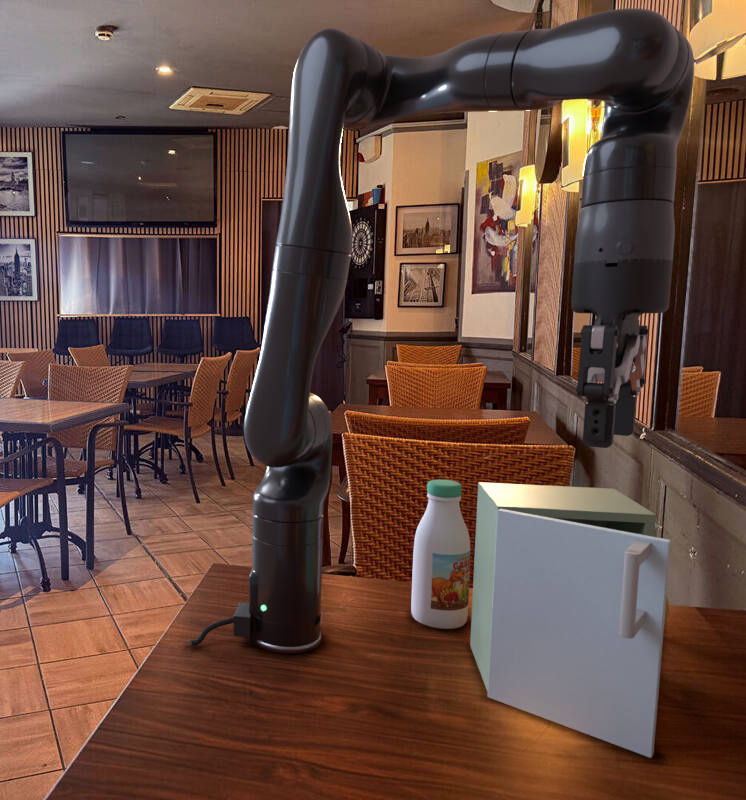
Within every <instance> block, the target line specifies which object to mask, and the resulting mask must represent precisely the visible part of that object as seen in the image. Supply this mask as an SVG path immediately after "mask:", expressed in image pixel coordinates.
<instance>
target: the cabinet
mask: <svg viewBox="0 0 746 800" xmlns="http://www.w3.org/2000/svg"><path fill="white" fill-rule="evenodd" d="M499 509H506V510H511V511H516V512H522V513H527V514H533V515H538V516H543V517H549V518H554V519H560V520H565V521H570V522H576V523H581V524H587V525H592V526H598V527H603V528H608V529H614V530H619V531H625V532H630V533H635V534H641V535H646V536H652V537H656V536H655V535H656V521H657V514H656V513H654V512H653V511H651V510H649V509H648V508H646V507H644V506H643V505H641V504H640V503H638V502H636V501H635V500H633V499H632V498H630V497H628V496H627V495H626V494H624V493H622V492H620V491H619V490H617V489H616V488H607V487H606V488H605V487H584V486H566V485H564V486H562V485H547V484H546V485H545V484H543V485H541V484H522V483H505V482H503V483H502V482H501V483H500V482H483V481H482V482H477V501H476V519H475V537H474V538H475V542H474V561H473V579H472V581H473V582H472V602H471V620H470V621H471V623H470V641H469V646H470V649H471V652H472V654H473V657H474V659H475V660H474V661H475V662H476V665H477V668H478V670H479V674H480V676H481V679H482V681H483V684H484V687H485V689H486V692H487V693H488V680H489V661H490V642H491V623H492V604H493V585H494V567H495V548H496V529H497V511H498V510H499Z"/></svg>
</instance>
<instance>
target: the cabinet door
mask: <svg viewBox="0 0 746 800" xmlns="http://www.w3.org/2000/svg"><path fill="white" fill-rule="evenodd" d="M671 545H672V540H671V539H667V538H663V537H657V536H654V537H652V536H646V535H641V534H635V533H630V532H625V531H619V530H614V529H608V528H603V527H598V526H592V525H587V524H581V523H576V522H570V521H565V520H560V519H554V518H549V517H543V516H538V515H533V514H527V513H522V512H516V511H511V510H506V509H499V510H498V511H497V529H496V548H495V567H494V585H493V604H492V623H491V642H490V661H489V680H488V692H487V698H489V699H490V700H494V701H497V702H499V703H502V704H505V705H507V706H510V707H513V708H515V709H518V710H520V711H523V712H526V713H528V714H531V715H534V716H536V717H540V718H541V719H545V720H547V721H550V722H553V723H556V724H558V725H560V726H564V727H567V728H569V729H572V730H574V731H577V732H579V733H583V734H585V735H588V736H590V737H593V738H595V739H599V740H601V741H604V742H607V743H609V744H612V745H615V746H618V747H620V748H623V749H625V750H628V751H630V752H633V753H635V754H638V755H641V756H643V757H646V758H648V759H649V758H650V759H652V758H653V756H654V752H655V740H656V729H657V719H658V718H657V715H658V704H659V693H660V692H659V691H660V680H661V668H662V667H661V666H662V655H663V645H664V644H663V643H664V630H665V623H664V620H665V608H666V595H667V594H668V583H669V581H668V580H669V570H670V559H671V558H670V557H671V547H672V546H671ZM667 596H668V595H667Z"/></svg>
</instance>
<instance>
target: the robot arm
mask: <svg viewBox="0 0 746 800" xmlns="http://www.w3.org/2000/svg"><path fill="white" fill-rule="evenodd" d="M690 43H691V42H690V41H689V40H688V38H687V37H686V36H685V35H684V34H683V33H682V32H681V31H679V30H678V28H676V27H675V26H674V25H673V24H672V23H671V22H670V20H668V19H667V18H666V17H665V16H664V15H662V14H661V13H659V12H657V11H654V10H651V9H646V8H636V7H635V8H634V7H632V8H631V7H630V8H618V9H610V10H605V11H601V12H597V13H593V14H590V15H587V16H584V17H580V18H577V19H573V20H570V21H567V22H564V23H562V24H558V25H557V26H554V27H551V28H535V29H525V30H516V31H508V32H499V33H492V34H486V35H482V36H477V37H475V38H471V39H469V40H465V41H462V42H461V43H459V44H457V45H455V46H452V47H451V48H449V49H447V50H445V51H443V52H440V53H435V54H432V55H426V56H403V55H402V56H401V55H394V54H387V53H383V52H382V51H380V50H379V49H378V48H377V47H374V46H373V45H371V44H369V43H367V42H366V41H363V40H361V38H358V37H356V36H353V35H352V34H349V33H348V32H345V31H343V30H341V29H337V28H332V27H328V28H323V29H321V30H318V31H317V32H315V33H314V34H313V35H312V36H310V38H309V39H308V40H307V41H306V43H305V44H304V46H303V47H302V49H301V51H300V53H299V55H298V57H297V60H296V64H295V66H294V71H293V75H292V81H291V89H290V103H289V124H288V143H287V145H288V146H287V161H286V170H285V177H284V185H283V186H284V187H283V194H282V195H283V196H282V203H281V211H280V219H279V226H278V231H277V236H276V241H275V247H274V254H273V261H272V268H271V276H270V277H271V278H270V287H269V294H268V299H267V300H268V302H267V306H266V313H265V320H264V325H263V334H262V335H263V336H262V341H261V347H260V353H259V358H258V361H257V362H258V363H257V366H256V369H255V375H254V378H253V382H252V386H251V390H250V393H249V397H248V402H247V405H246V409H245V415H244V421H243V437H244V442H245V445H246V448H247V450H248V452H249V453H250V455H251V456H252V458H253V459H254V461H256V462H257V463H259V464H260V465H262V466H264V467H266V470H265V473H264V476H263V478H262V479H261V482H260V483H259V485H258V486H257V487H256V489H255V490H254V492H253V496H252V543H251V544H252V545H251V546H252V547H251V548H252V549H251V552H252V553H251V570H250V573H249V576H248V577H249V578H248V602H238V604H237V607H236V609H235V612H234V614H233V616H231V617H227V618H224V619H220V620H217V621H215V622H213V623H211V624H209V625H207V626H206V627H204V629H203V630H202V631H201V632H200V634H199V635H198V637H197V638H195V639H190V646H191V647H196V646H198V645H201V643H202V642H203V641H204V639H205V638H206V636H207V635H208V634H209V633H211V631H213V630H215V629H217V628H220V627H223V626H226V625H230V624H233V628H232V629H233V636H234V637H243V638H248V640H247V641H248V645H249V646H256V647H258V648H261V649H262V650H265V651H267V652H271V653H276V654H282V655H283V654H284V655H296V654H304V653H307V652H310V651H312V650H313V651H314V650H315V649H316V648H318V647H319V646H320V645H321V642H322V631H321V630H322V620H323V613H324V612H323V611H324V609H323V608H322V589H323V588H322V585H323V584H322V583H323V582H322V581H323V579H322V578H323V542H324V541H323V540H324V539H323V538H324V507H325V501H326V498H327V496H328V492H329V489H330V482H331V472H332V471H331V469H332V456H333V454H332V453H333V423H332V417H331V414H330V411H329V408H328V407H327V405H326V404H325V402H324V401H323V400H322V399H321V398H320V397H319V396H318V395H316V394H314V393H312V392H311V387H312V380H313V374H314V369H315V368H314V367H315V364H316V360H317V357H318V354H319V352H320V349H321V347H322V345H323V342H324V341H325V339H326V337H327V334H328V332H329V330H330V328H331V327H332V324H333V322H334V319H335V317H336V315H337V313H338V311H339V308H340V306H341V304H342V301H343V298H344V295H345V290H346V286H347V282H348V276H349V269H350V265H351V264H350V263H351V258H352V251H353V241H354V240H353V239H354V237H353V227H352V220H351V215H350V212H349V211H350V210H349V206H348V202H347V199H346V194H345V190H344V185H343V180H342V175H341V174H342V173H341V166H340V164H341V163H340V162H341V161H340V158H341V157H340V156H341V146H342V145H341V143H342V139H343V138H342V137H343V131H344V129H343V128H345V129H357V128H363V127H364V128H365V127H370V126H375V125H378V124H379V125H380V124H384V123H387V122H393V121H396V120H401V119H405V118H413V117H419V116H428V115H433V114H435V115H436V114H447V113H449V114H450V113H482V112H483V113H487V112H488V113H490V112H491V113H493V112H496V113H497V112H533V111H541V110H545V109H546V110H547V109H550V108H552V107H555V106H557V104H559V103H560V102H561V101H571V100H593V101H594V100H595V101H602V102H603V103H604V113H603V114H604V115H603V121H602V127H601V132H600V137H599V140H597V141H596V142H594V143H593V144H592V145H591V146H590V147H589V149H588V150H587V152H586V155H585V158H584V161H583V162H584V163H583V170H582V183H581V201H580V212H579V219H578V224H577V227H576V233H575V243H574V257H573V258H574V261H573V275H572V290H571V292H572V293H571V305H570V308H571V311H572V312H574V313H576V314H589V315H591V314H592V315H593V314H594V315H595V319H594V324H590V325H589V324H584V325H583V326H582V328H581V330H580V336H581V337H580V347H579V348H580V349H579V361H578V372H577V373H578V374H577V383H576V384H577V385H576V387H575V392H576V395H577V397H581V399H582V400H581V401H582V402H583V403H584V415H583V430H582V443H583V444H584V446H587V447H591V448H592V447H593V448H599V449H600V448H601V449H608V448H610V447H612V446H613V444H614V439H615V438H614V436H623V437H629V436H631V435H633V434H634V432H635V425H636V412H637V401H638V397H639V396H640V393H641V392H642V389H643V388H644V385H645V384H646V377H645V376H646V362H647V348H648V347H647V346H648V335H649V334H650V333H649V331H650V330H649V329H648V325H644V324H642V325H641V324H640V319H639V318H640V316H642V315H644V314H645V315H646V314H663V313H666V312H667V311H668V309H669V308H670V301H671V300H670V299H671V288H672V287H671V286H672V273H673V262H674V250H675V249H674V248H675V235H676V224H675V212H674V208H675V207H674V206H675V204H674V202H675V192H676V181H677V179H676V178H677V160H678V159H677V157H678V156H677V152H678V151H677V150H678V145H679V142H680V140H681V136H682V134H683V130H684V127H685V123H686V118H687V114H688V110H689V106H690V104H691V103H690V102H691V97H692V94H693V93H692V92H693V87H694V77H695V58H694V57H695V56H694V53H693V52H694V51H693V48H692V46H691V44H690Z"/></svg>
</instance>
